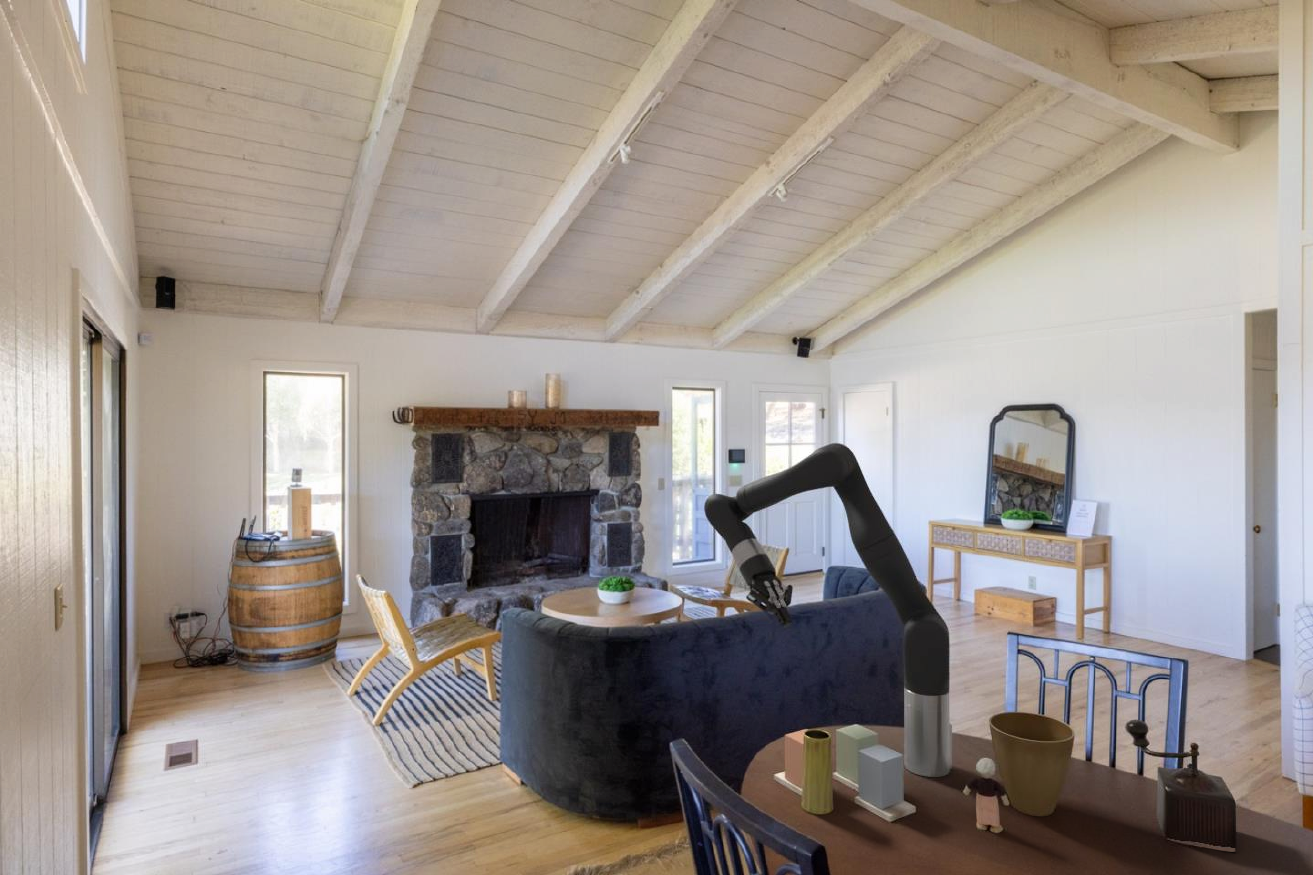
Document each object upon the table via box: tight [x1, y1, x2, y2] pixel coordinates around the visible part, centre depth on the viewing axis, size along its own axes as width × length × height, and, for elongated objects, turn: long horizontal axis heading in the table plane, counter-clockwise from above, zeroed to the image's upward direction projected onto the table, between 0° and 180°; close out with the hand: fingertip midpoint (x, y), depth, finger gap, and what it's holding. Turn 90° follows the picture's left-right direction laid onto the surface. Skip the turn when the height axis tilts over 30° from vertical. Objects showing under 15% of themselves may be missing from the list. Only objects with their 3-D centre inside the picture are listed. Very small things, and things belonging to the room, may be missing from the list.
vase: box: [800, 728, 834, 816], centre depth 146 cm, size 6×6×14 cm
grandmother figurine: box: [962, 757, 1010, 834], centre depth 139 cm, size 8×4×13 cm, turn 71°
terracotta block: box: [784, 728, 809, 788], centre depth 155 cm, size 6×6×9 cm
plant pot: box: [988, 711, 1076, 817], centre depth 146 cm, size 15×15×16 cm
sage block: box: [835, 723, 879, 783], centre depth 158 cm, size 6×6×9 cm
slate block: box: [857, 743, 905, 809], centre depth 147 cm, size 6×6×9 cm
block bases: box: [773, 770, 917, 823], centre depth 152 cm, size 18×25×1 cm
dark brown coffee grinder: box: [1125, 719, 1237, 849], centre depth 138 cm, size 16×11×18 cm
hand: (787, 624), depth 169 cm, fingers closed
